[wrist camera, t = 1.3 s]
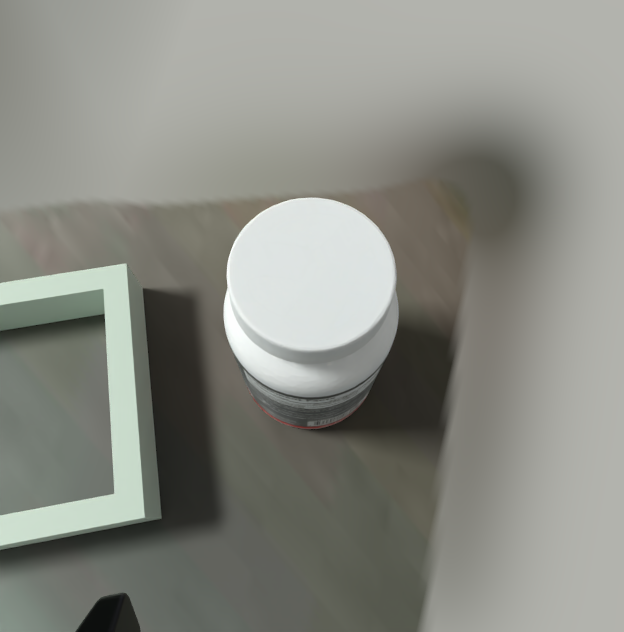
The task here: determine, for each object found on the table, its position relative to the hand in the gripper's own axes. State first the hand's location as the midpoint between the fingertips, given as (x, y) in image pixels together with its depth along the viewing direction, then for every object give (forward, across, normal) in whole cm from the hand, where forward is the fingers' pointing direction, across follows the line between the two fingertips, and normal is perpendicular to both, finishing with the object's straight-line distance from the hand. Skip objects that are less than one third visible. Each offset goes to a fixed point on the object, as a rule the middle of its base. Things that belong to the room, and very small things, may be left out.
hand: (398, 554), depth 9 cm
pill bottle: (+14, 0, +4) cm, 15 cm away
